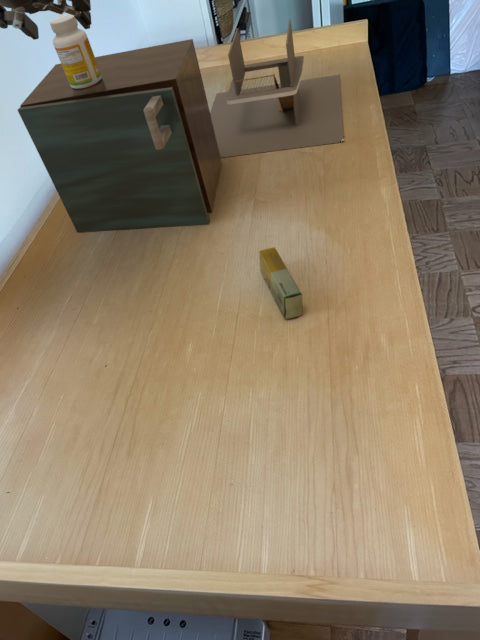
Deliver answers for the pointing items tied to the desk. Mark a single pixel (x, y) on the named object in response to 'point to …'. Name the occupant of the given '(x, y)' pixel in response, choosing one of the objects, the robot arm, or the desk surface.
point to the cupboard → (148, 74)
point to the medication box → (281, 283)
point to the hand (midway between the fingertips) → (61, 28)
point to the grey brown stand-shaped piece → (276, 107)
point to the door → (119, 160)
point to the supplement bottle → (75, 52)
